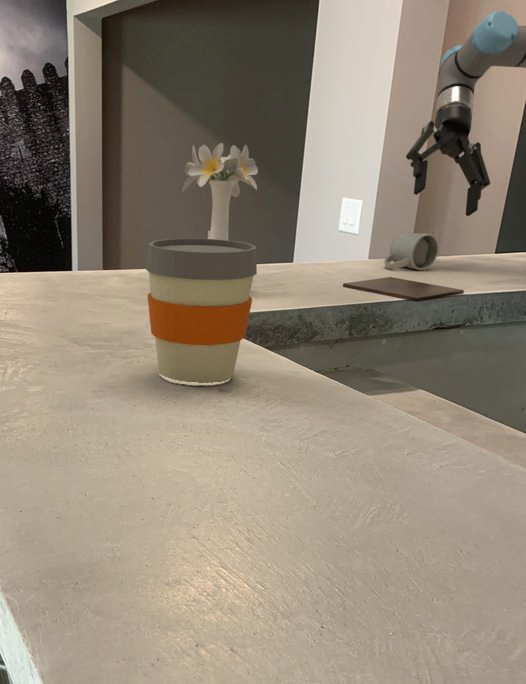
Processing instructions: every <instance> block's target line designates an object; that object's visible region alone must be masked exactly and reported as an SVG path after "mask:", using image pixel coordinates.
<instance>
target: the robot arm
mask: <svg viewBox="0 0 526 684" xmlns="http://www.w3.org/2000/svg"><path fill="white" fill-rule="evenodd" d="M491 67H502V68H503V67H506V68H522V69H526V25H519V24H518V21H517V20H516V18H515V17H514V16H513V15H512V14H510V13H507V12H506V11H504V10H494V11H492V12H490V13H489V14H487V15H486V17H485V18H484V19H482V21H480V23H479V24H477V25H476V27H475V28H474V29H473V32H471V34H470V35H469V37H468V38H467V39H466V40H465V41H464V43H463V44H460V45H455V46H454V47H452V48H451V49H448V50H447V51H446V52H445V53H444V54H443V56H442V58H441V61H440V67H439V71H438V84H437V85H438V86H437V98H436V108H435V118H434V121H433V120H430V121H429V122H427V124H426V125H424V126H423V127H422V128H421V133H420V136H419V137H418V138H417V140H416V141H415V143H413V145H412V147H411V148H410V150H409V151H408V152H407V153H406V155H405V158H406V159H407V160H408V161H409V160H410V161H411V162H410V163H409V164H410V167H412V168H413V171H412V176H413V177H414V186H413V194H414V195H416V196H418V195H419V194H420V193H421V192H423V191H424V190H426V184H427V175H428V174H427V173H428V163H429V161H428V160H426V159H428V158H429V157H430V156H432V155H433V154H434V153H436V152H437V151H438V150H439V151H440V153H441V154H442V155H445V156H448V157H449V158H451V159H453V160H454V162H455V164H458V165H459V167H460V169H461V171H462V173H463V176H464V177H465V180H466V181H467V183H468V185H469V187H468V188H467V192H466V205H465V216H467V217H470V216H471V215H473V214H474V213H475V212H477V211H478V210H479V209H478V208H479V201H480V200H481V198H482V191H483V190H484V189H486V188H487V187H488V186H490V185H491V180H490V176H489V173H488V171H487V167H486V164H485V161H484V157H483V155H482V154H483V153H482V145H481V143H480V142H479V141H476V142H475V143H471V142H470V138H469V135H470V133H471V129H472V121H473V112H474V97H475V87H476V84H477V82H478V81H479V79H481V78H482V77H483V76H484V75H485V74H486V72H487V71H489V70H490V68H491ZM432 135H433V139H434V141H435V143H434V144H433V145H432V146H430V147H428V148H427V149H426V150H424V151H423V152H422V153H420V150H421V149H422V148H423V146H424V145H425V144H426V142H428V139H429V138H430V137H432ZM462 153H463V154H462ZM460 155H461V156H460Z"/></svg>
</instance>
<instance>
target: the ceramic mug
mask: <svg viewBox="0 0 526 684" xmlns="http://www.w3.org/2000/svg"><path fill="white" fill-rule="evenodd" d="M438 253H439V243H438V240H437V238H436V237H435V236H434V235H433V234H431V233H414V232H407V233H402V234H399V235H398V236H396V237H395V238H394V240H393V241H392V243H391V246H390V251H389V254H390V255H388V256H386V257H385V258H384V260H383V264H384V267H385V269H387V270H397V269H402V268H408V269H411V270H416V271H426V270H428V269H430V267H432V266H433V265H434V264H435V262H436V259H437V257H438Z"/></svg>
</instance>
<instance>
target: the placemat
mask: <svg viewBox="0 0 526 684" xmlns="http://www.w3.org/2000/svg"><path fill="white" fill-rule="evenodd" d="M342 287H345V288H348V289H354V290H359V291H364V292H369V293H374V294H379V295H383V296H389V297H393V298H399V299H405V300H409V301H415V302H420V301H426V300H432V299H438V298H443V297H451V296H455V295H456V296H457V295H460V294H464V293H465V290H464V289H461V288H454V287H448V286H443V285H438V284H432V283H426V282H420V281H415V280H409V279H404V278H399V277H394V276H393V277H392V276H386V277H379V278H372V279H365V280H357V281H351V282H343V283H342Z"/></svg>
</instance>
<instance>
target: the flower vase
mask: <svg viewBox="0 0 526 684" xmlns="http://www.w3.org/2000/svg"><path fill="white" fill-rule="evenodd" d="M224 150H225V149H224V143H223V142H220V143H218V144H217V145H216V146H215V147H214V149H213V151H212V153H211V151H210V149H209V147H208V146H207V145H206V144H202V145H201V146H200V147H199V148H198V153H197V152H196V147H195V145H194V144H193V145H192V149H191V160H192V162H191V161H188V162H187V163H186V164H185V167H184V174H185V175H186V176H188V177H187V179H186V180H185V181H184V184H183V187H182V190H181V192H182V193H183V192H184V191H185V190H186V189H187V188H188V187H189V186H190V185H191V184H192V183H193V182H194V181H195V180H196V184H197V185H198V186H199V187H201V188H202V187H204V186H205V185H206V184H207V182H208V183H209V186H210V192H211V201H212V202H211V205H212V206H211V219H210V231H209V237H208V239H219V240H229V212H230V203H231V196H233V197H234V198H237V197H239V196H240V195H241V194H240V193H241V188H240V185H239V181H242V182H243V183H245V184H247V185H249V186H251V187H252V188H253V189H255V190H256V191H257V190H258V185H257V183H256V181H255V179H254V178H253V177H252V176H255V175H257V174H258V173H259V169H258V166H257V165H256V160H255V159H254V158H249V157H250V155H249V153H250V152H249V147H248V145H247V144H245V145H244V146H243V149H242V151H241V150H240V148H238V147H237V145H236V144H235V145H232V146H231V147H230V153H229V155H227V156H223V153H224ZM197 155H198V156H197ZM198 158H199V159H198ZM199 160H200V161H199ZM215 178H217V179H215Z"/></svg>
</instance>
